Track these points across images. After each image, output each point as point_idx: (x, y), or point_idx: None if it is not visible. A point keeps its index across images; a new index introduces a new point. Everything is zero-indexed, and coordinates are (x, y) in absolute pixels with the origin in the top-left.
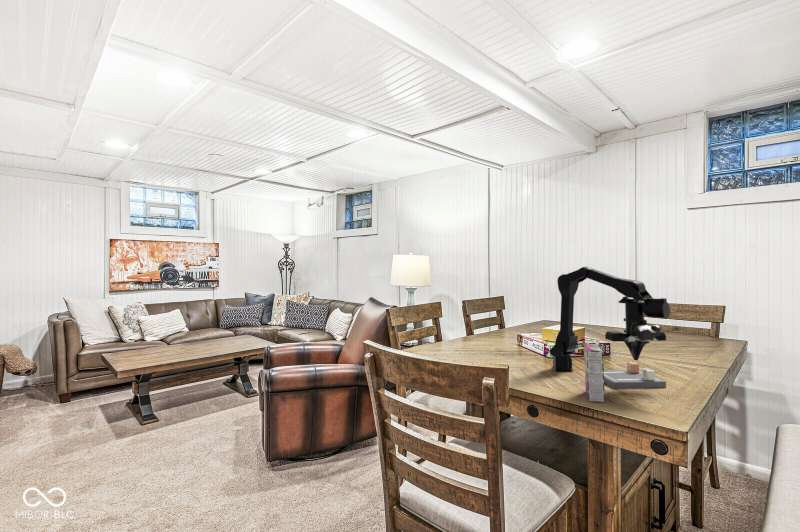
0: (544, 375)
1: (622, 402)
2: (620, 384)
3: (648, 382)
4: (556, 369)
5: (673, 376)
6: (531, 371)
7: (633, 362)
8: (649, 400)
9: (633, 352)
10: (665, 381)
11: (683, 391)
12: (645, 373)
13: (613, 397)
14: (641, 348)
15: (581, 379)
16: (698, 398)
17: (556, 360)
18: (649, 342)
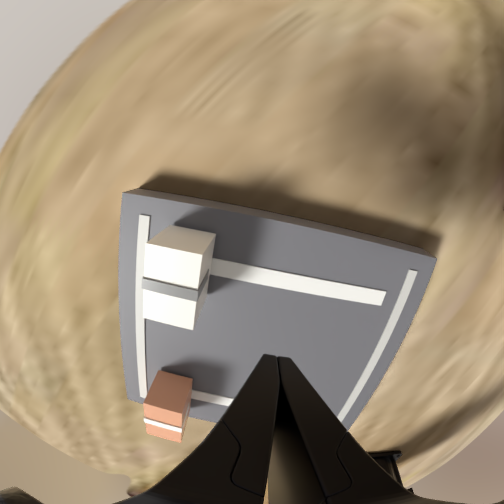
0: (460, 420)
1: (499, 81)
2: (403, 246)
3: (233, 211)
4: (394, 460)
5: (31, 321)
6: (447, 447)
7: (151, 430)
8: (400, 37)
9: (337, 425)
10: (124, 195)
11: (112, 108)
12: (203, 277)
13: (499, 138)
14: (213, 459)
15: (419, 385)
16: (144, 9)
17: (401, 483)
18: (1, 496)
